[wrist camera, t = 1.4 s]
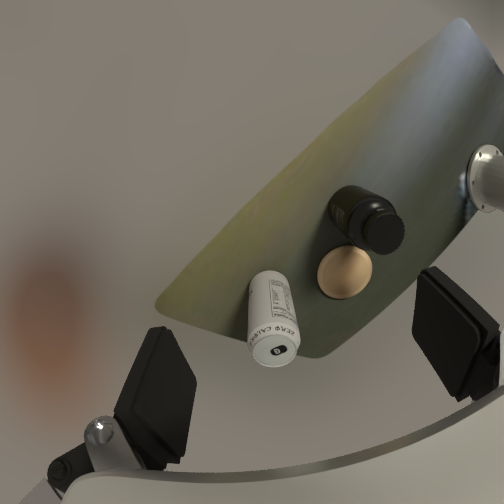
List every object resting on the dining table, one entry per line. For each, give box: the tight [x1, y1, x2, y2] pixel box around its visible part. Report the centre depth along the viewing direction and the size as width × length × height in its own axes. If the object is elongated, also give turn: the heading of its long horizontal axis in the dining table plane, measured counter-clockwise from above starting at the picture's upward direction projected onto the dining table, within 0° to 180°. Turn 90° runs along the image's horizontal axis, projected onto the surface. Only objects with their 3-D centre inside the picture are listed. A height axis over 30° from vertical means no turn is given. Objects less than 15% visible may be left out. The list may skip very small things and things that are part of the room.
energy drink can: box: [247, 271, 300, 367], centre depth 35 cm, size 6×6×15 cm
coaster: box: [317, 245, 372, 299], centre depth 41 cm, size 9×9×1 cm
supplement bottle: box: [329, 185, 405, 255], centre depth 32 cm, size 7×7×12 cm
